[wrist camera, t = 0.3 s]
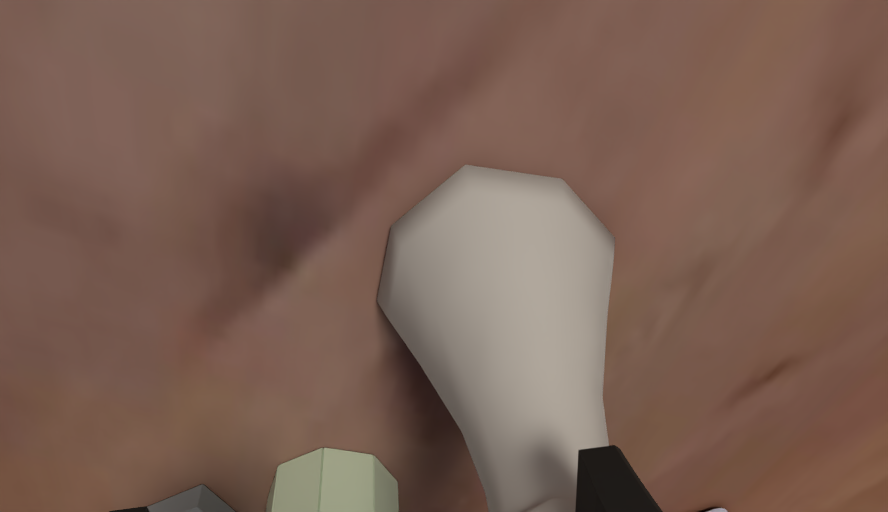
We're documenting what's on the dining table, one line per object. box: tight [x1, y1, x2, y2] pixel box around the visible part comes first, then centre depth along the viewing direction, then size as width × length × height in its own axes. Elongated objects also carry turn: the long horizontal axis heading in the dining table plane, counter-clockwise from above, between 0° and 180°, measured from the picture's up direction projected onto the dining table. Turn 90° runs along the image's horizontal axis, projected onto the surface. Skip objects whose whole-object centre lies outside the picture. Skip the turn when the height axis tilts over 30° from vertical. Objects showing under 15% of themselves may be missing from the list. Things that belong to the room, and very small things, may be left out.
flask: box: [377, 165, 615, 512], centre depth 17 cm, size 7×7×10 cm
